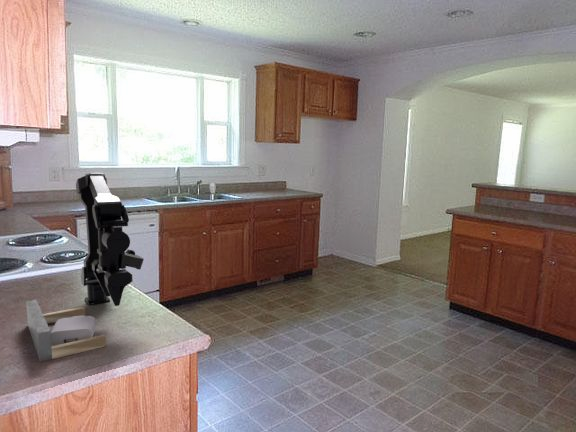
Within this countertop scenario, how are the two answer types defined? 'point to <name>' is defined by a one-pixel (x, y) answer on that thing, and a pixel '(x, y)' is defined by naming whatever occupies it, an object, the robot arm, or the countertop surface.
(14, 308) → the countertop surface
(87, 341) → the guarded bay
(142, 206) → the countertop surface
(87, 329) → the charger
